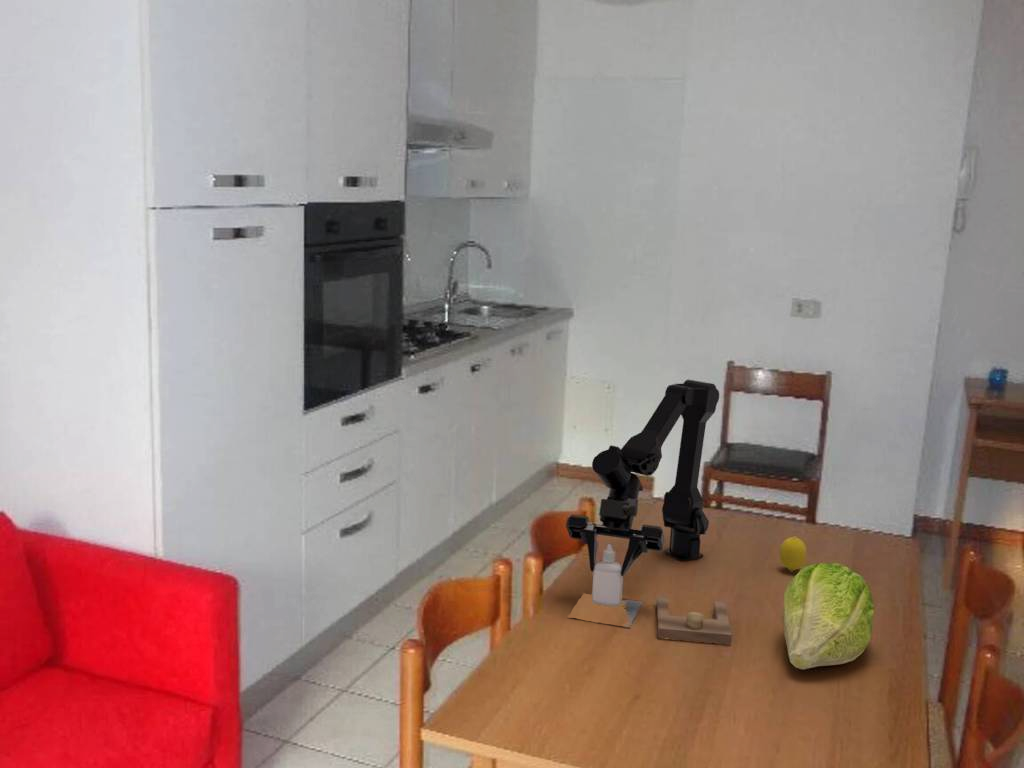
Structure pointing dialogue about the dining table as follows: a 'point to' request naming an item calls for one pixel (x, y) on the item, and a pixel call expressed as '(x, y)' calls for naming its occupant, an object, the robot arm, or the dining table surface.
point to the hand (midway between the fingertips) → (606, 572)
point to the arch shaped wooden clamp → (694, 624)
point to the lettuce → (826, 616)
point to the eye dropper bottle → (607, 580)
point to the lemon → (793, 553)
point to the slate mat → (632, 609)
